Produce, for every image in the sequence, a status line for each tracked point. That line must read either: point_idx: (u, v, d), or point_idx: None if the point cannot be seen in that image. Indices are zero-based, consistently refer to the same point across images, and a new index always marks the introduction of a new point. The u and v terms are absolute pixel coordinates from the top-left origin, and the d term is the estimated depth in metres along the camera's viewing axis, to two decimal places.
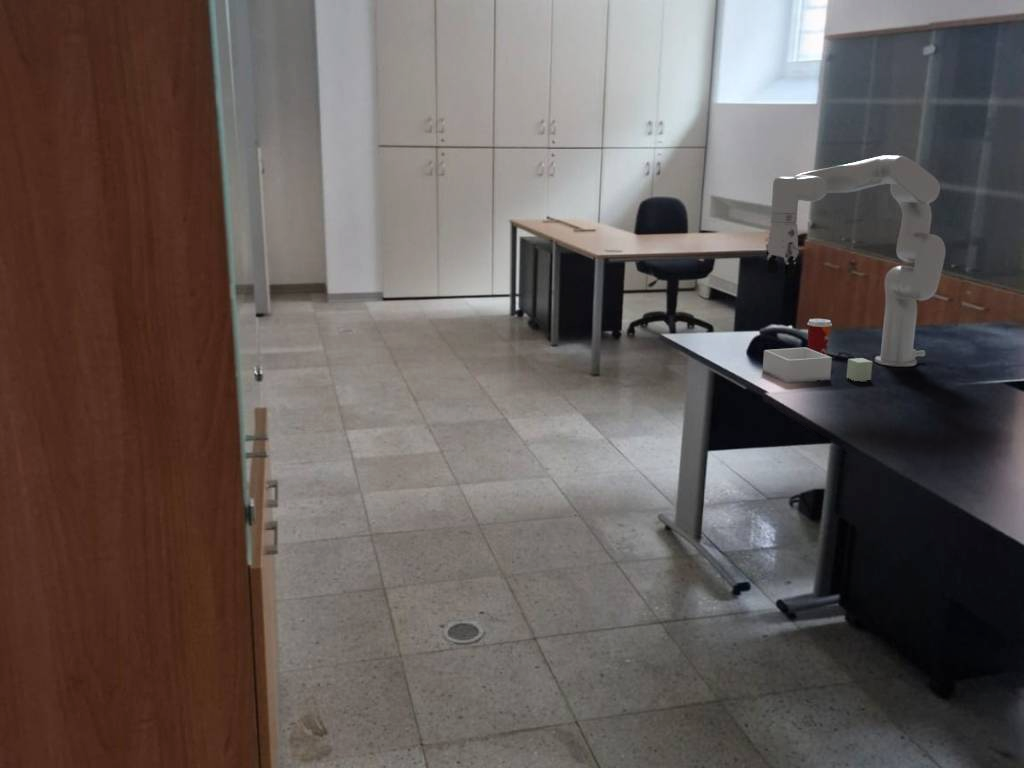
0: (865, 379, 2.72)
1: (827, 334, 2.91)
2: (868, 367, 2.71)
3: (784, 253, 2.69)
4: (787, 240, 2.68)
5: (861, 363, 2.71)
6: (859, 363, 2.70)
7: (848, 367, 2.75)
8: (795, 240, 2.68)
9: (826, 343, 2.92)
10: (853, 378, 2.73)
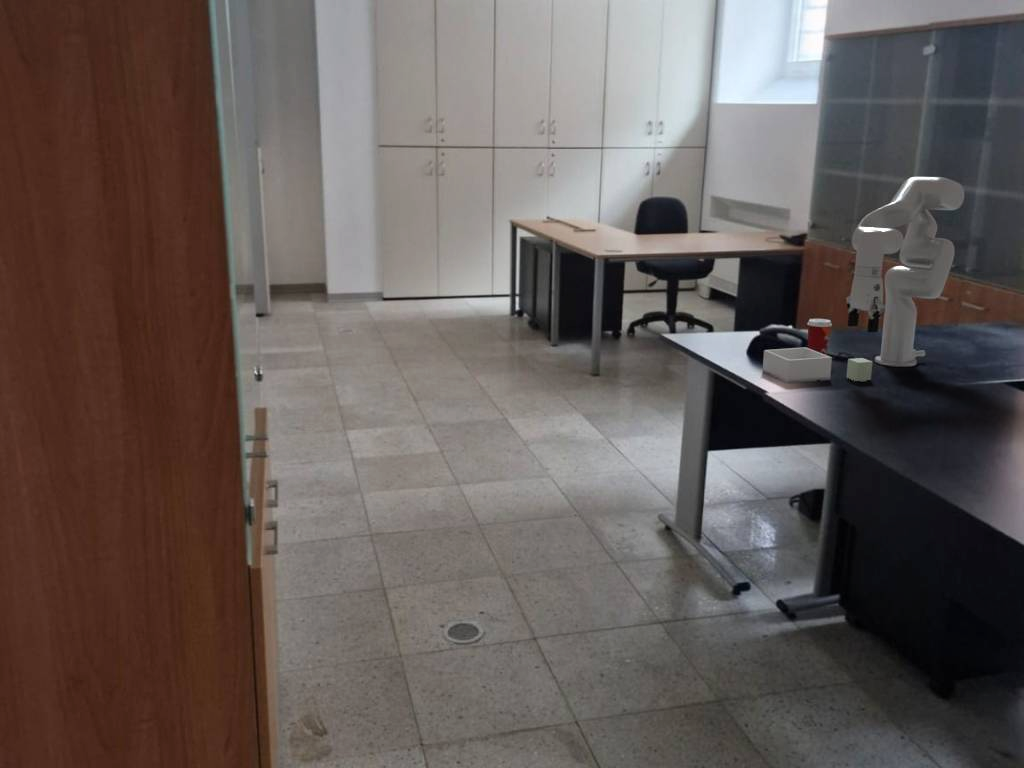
0: (865, 379, 2.72)
1: (827, 334, 2.91)
2: (868, 367, 2.71)
3: (869, 307, 2.63)
4: (872, 294, 2.63)
5: (861, 363, 2.71)
6: (859, 363, 2.70)
7: (848, 367, 2.75)
8: (880, 294, 2.63)
9: (826, 343, 2.92)
10: (853, 378, 2.73)
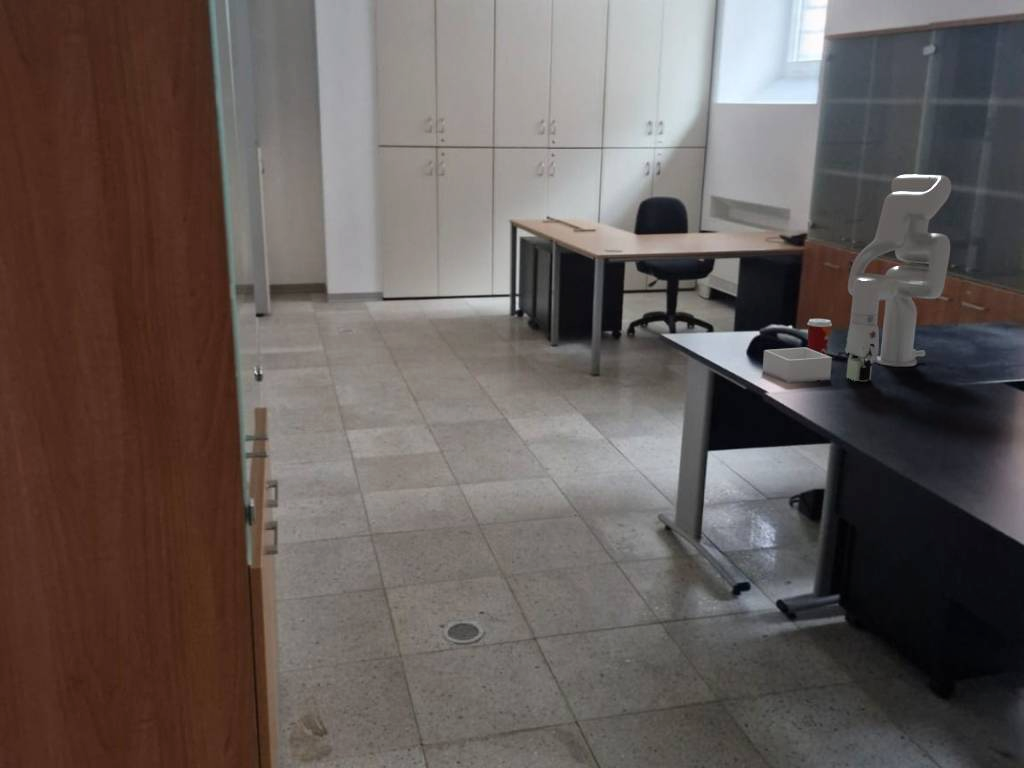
0: None
1: (827, 334, 2.91)
2: None
3: (865, 354, 2.67)
4: (868, 342, 2.66)
5: (861, 363, 2.70)
6: (859, 363, 2.70)
7: (848, 367, 2.75)
8: (876, 341, 2.67)
9: (826, 343, 2.92)
10: (853, 378, 2.73)
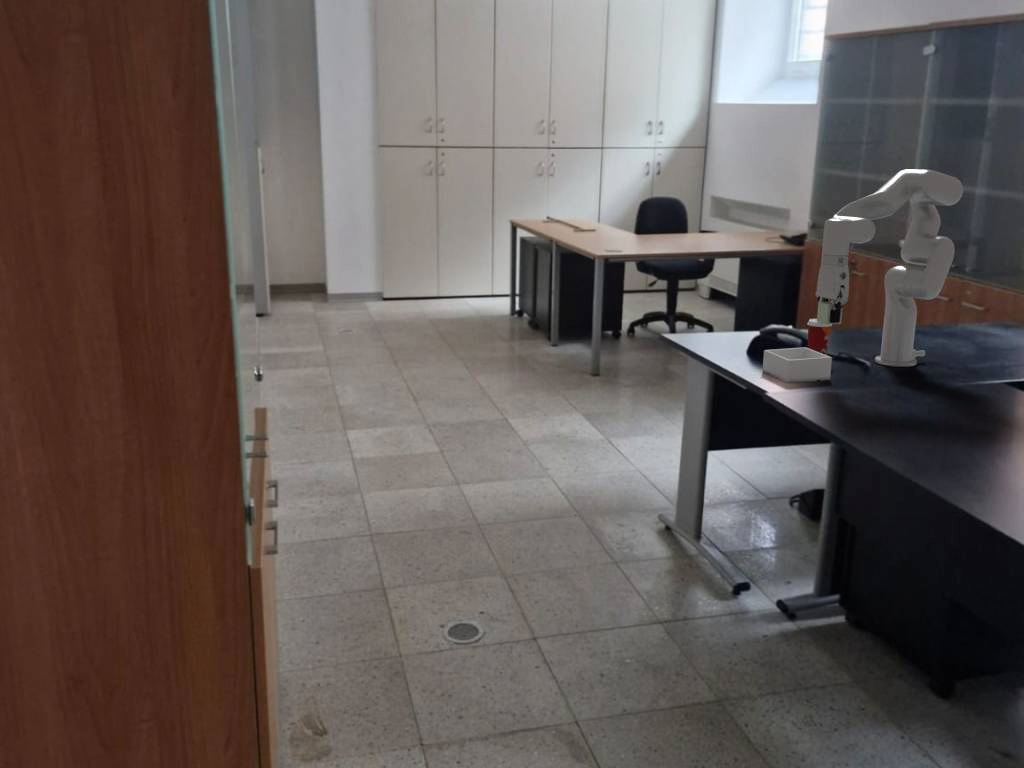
0: None
1: (827, 334, 2.91)
2: None
3: (835, 296, 2.65)
4: (839, 283, 2.64)
5: (831, 305, 2.68)
6: (829, 305, 2.68)
7: (818, 310, 2.73)
8: (846, 283, 2.65)
9: (826, 343, 2.92)
10: (823, 321, 2.71)
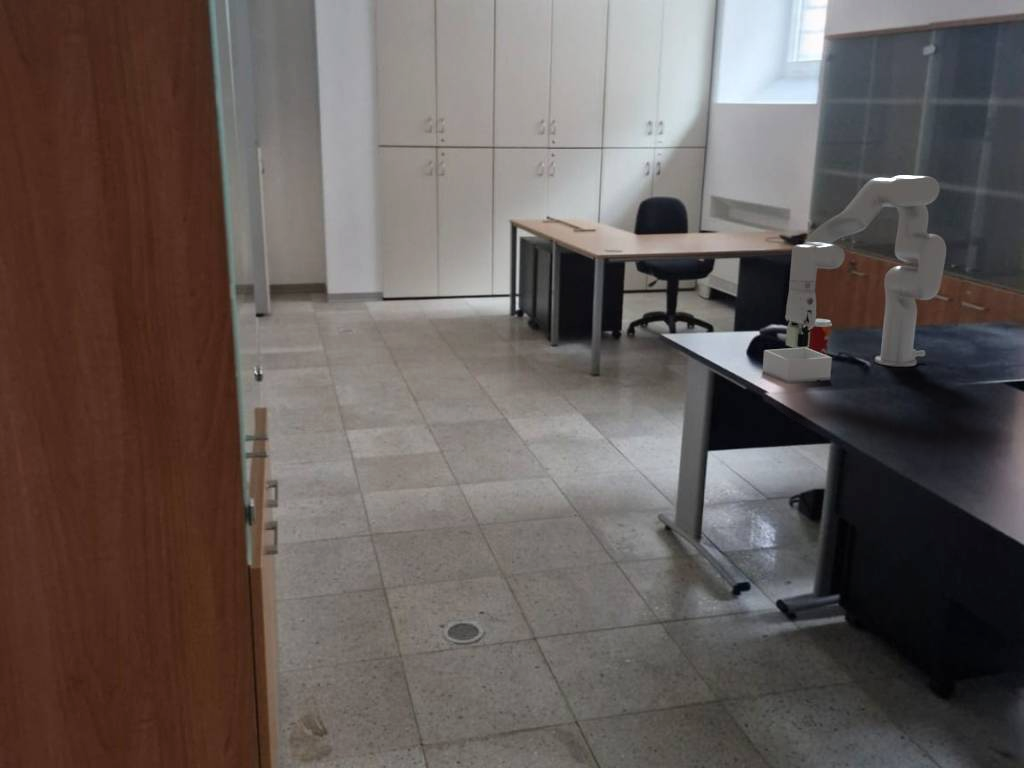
0: None
1: (827, 334, 2.91)
2: None
3: (802, 321, 2.70)
4: (806, 308, 2.69)
5: (799, 329, 2.73)
6: (797, 329, 2.73)
7: (787, 334, 2.77)
8: (813, 308, 2.69)
9: (826, 343, 2.92)
10: (791, 344, 2.75)
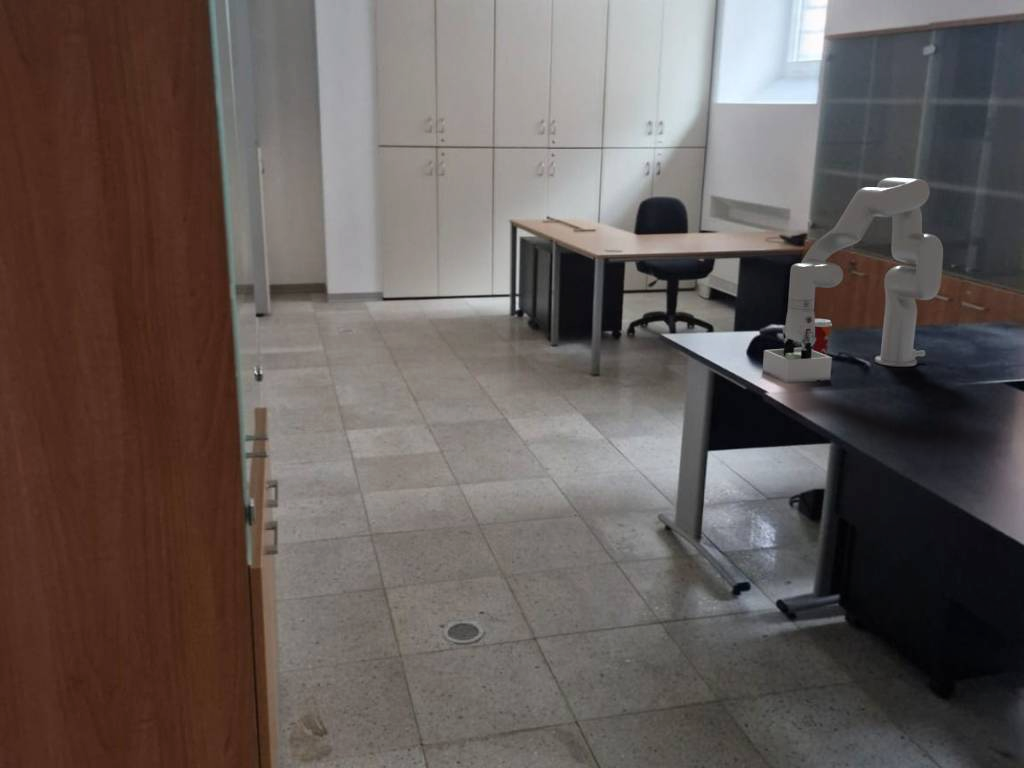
0: None
1: (827, 334, 2.91)
2: None
3: (801, 339, 2.71)
4: (804, 327, 2.70)
5: (798, 357, 2.75)
6: (796, 357, 2.75)
7: None
8: (812, 326, 2.71)
9: (826, 343, 2.92)
10: None
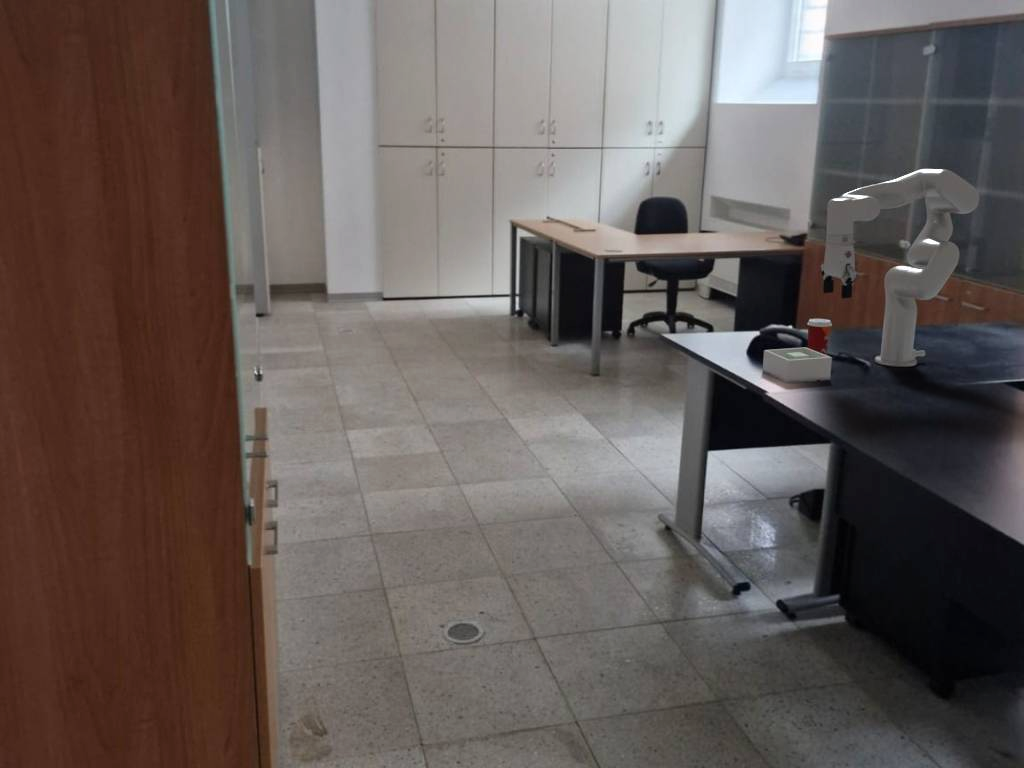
0: None
1: (827, 334, 2.91)
2: None
3: (842, 274, 2.71)
4: (844, 261, 2.69)
5: (798, 357, 2.75)
6: (796, 357, 2.75)
7: None
8: (852, 261, 2.70)
9: (826, 343, 2.92)
10: None
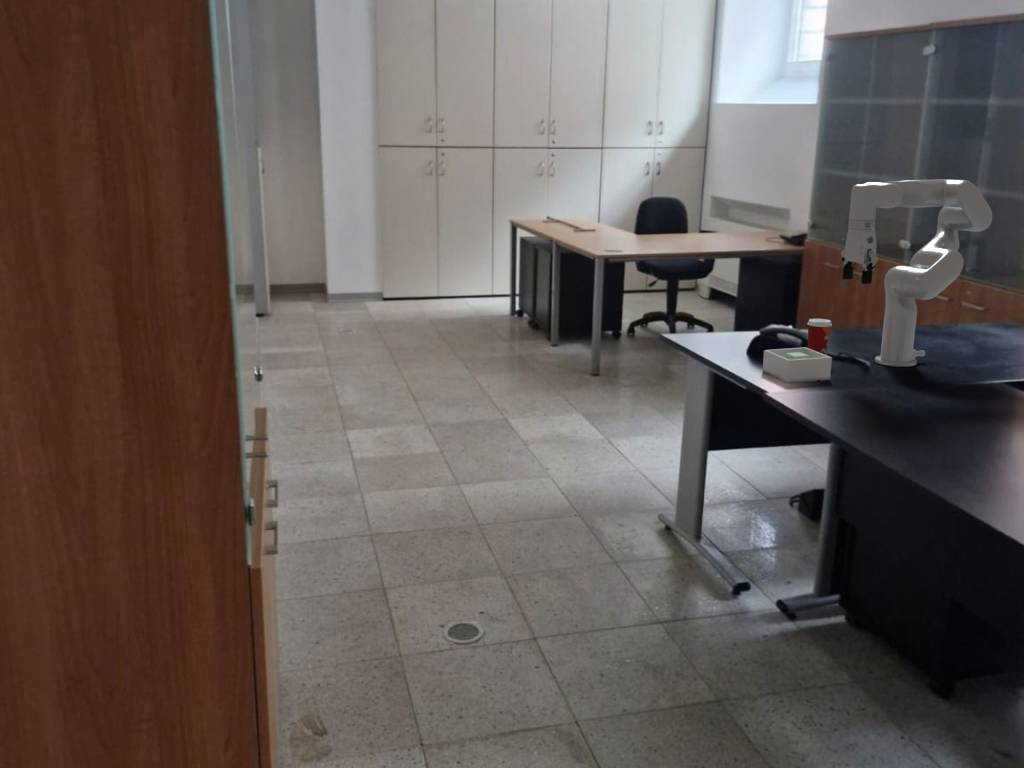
0: None
1: (827, 334, 2.91)
2: None
3: (863, 260, 2.72)
4: (866, 247, 2.71)
5: (798, 357, 2.75)
6: (796, 357, 2.75)
7: None
8: (874, 247, 2.71)
9: (826, 343, 2.92)
10: None
